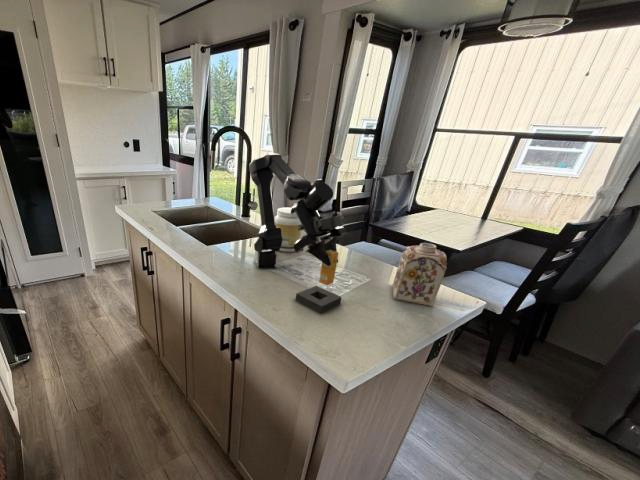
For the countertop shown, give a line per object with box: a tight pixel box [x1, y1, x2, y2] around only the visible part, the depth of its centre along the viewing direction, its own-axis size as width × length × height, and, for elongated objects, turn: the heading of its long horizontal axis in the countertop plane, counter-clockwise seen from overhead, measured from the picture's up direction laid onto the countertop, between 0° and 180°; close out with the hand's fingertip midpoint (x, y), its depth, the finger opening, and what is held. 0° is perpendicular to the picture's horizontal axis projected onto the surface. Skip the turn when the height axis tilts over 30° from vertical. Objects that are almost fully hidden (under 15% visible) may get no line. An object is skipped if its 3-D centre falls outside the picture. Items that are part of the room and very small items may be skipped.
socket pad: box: [294, 285, 342, 315], centre depth 102 cm, size 10×10×2 cm
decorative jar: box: [392, 242, 448, 307], centre depth 106 cm, size 12×12×18 cm
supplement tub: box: [274, 207, 302, 253], centre depth 143 cm, size 12×12×17 cm
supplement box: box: [318, 250, 339, 286], centre depth 98 cm, size 3×3×10 cm
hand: (333, 264), depth 97 cm, fingers closed on supplement box, 3 cm apart
